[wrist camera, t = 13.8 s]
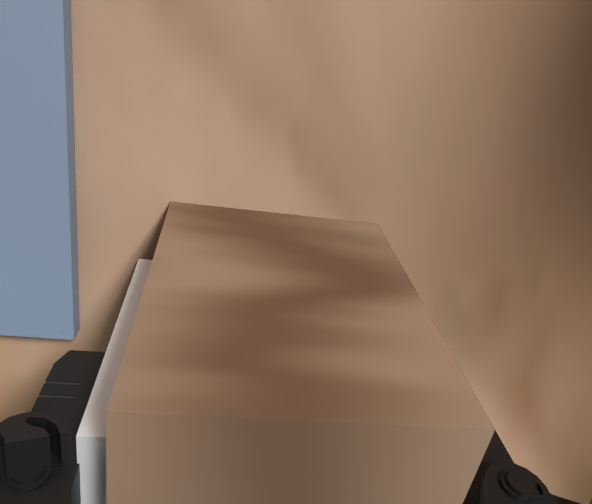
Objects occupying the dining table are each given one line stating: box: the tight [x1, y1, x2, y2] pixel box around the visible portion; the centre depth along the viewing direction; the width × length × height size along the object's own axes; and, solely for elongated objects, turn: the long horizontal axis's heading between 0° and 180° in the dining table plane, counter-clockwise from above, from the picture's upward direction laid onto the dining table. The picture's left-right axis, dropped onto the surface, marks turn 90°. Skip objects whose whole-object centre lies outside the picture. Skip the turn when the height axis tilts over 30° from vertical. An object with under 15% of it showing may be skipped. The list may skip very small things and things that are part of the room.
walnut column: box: [106, 202, 495, 504], centre depth 13 cm, size 6×6×8 cm
